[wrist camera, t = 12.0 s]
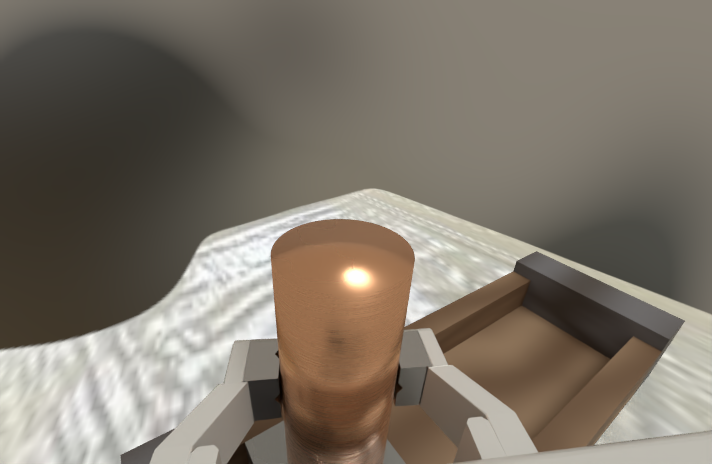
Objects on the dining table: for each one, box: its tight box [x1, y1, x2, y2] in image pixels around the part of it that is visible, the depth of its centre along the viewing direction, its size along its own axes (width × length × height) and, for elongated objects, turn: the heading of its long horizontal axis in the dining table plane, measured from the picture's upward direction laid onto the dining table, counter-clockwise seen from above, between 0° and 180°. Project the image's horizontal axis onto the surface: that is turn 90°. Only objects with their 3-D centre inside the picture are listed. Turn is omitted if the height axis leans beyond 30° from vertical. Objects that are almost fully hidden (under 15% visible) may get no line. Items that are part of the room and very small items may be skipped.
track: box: [121, 251, 685, 464], centre depth 18 cm, size 10×30×5 cm, turn 125°
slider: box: [245, 219, 415, 464], centre depth 11 cm, size 6×5×13 cm
